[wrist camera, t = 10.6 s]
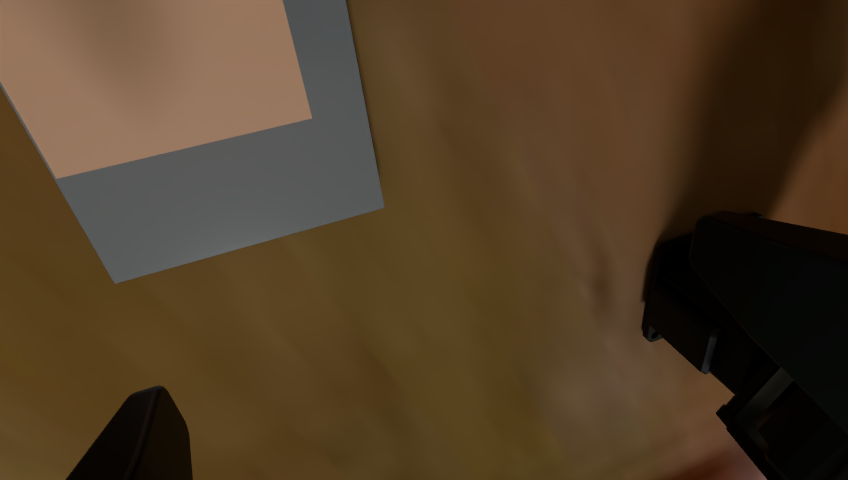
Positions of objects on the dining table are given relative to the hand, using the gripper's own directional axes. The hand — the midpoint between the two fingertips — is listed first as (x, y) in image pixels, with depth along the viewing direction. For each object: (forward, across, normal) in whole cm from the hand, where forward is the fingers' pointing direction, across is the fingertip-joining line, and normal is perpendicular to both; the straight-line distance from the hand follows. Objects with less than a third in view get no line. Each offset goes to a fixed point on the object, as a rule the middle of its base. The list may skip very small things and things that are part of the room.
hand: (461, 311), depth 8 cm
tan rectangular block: (+10, +4, -5) cm, 11 cm away
